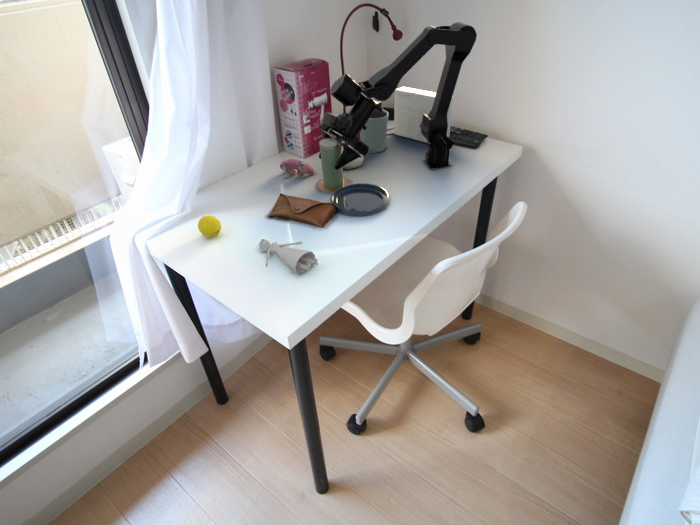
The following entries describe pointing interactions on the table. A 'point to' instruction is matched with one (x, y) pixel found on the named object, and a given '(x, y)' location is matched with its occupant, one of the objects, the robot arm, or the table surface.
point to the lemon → (209, 226)
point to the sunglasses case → (303, 210)
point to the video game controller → (296, 167)
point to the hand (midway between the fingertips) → (327, 163)
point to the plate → (360, 199)
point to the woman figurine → (290, 255)
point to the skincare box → (414, 112)
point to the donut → (354, 163)
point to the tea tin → (331, 162)
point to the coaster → (323, 188)
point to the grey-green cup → (375, 132)
